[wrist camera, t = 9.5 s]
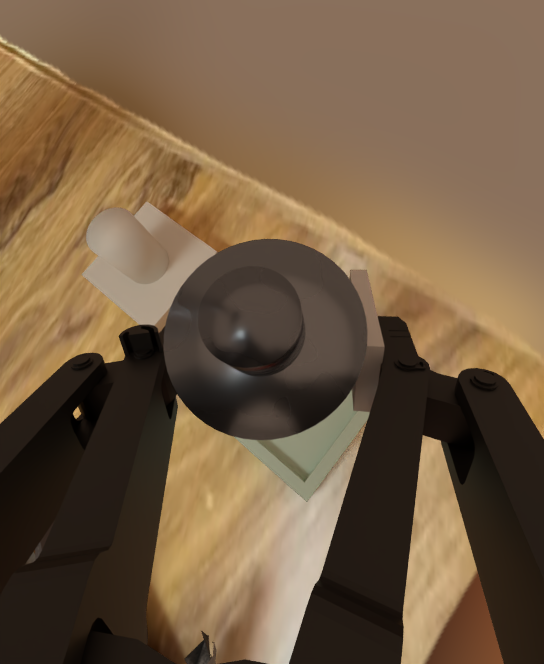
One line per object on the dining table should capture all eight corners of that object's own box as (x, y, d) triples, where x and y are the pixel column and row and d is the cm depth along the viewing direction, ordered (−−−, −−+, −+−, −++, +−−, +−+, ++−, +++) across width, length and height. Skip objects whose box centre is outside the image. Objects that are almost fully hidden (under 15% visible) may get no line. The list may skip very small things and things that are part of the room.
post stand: (94, 282, 36) (32, 245, 28) (155, 212, 37) (112, 159, 29) (158, 337, 34) (109, 313, 26) (222, 260, 35) (194, 216, 27)
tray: (188, 391, 32) (181, 390, 30) (280, 277, 33) (278, 270, 32) (307, 497, 28) (306, 502, 27) (405, 364, 30) (410, 361, 28)
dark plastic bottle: (224, 384, 19) (87, 339, 8) (285, 308, 20) (234, 168, 9) (302, 451, 18) (266, 506, 7) (365, 367, 18) (429, 287, 7)
